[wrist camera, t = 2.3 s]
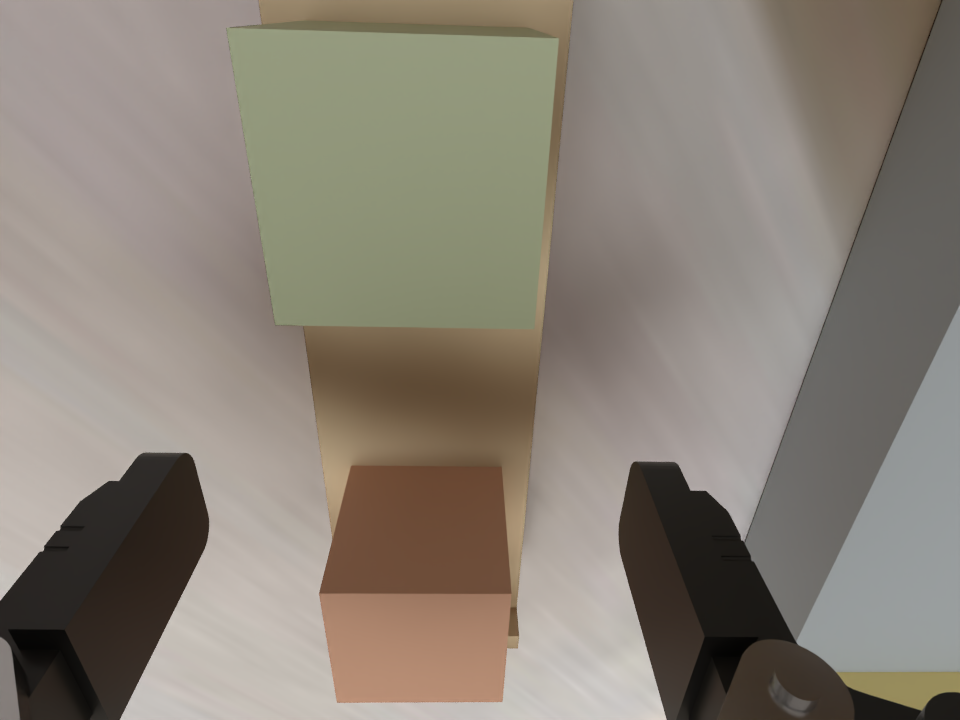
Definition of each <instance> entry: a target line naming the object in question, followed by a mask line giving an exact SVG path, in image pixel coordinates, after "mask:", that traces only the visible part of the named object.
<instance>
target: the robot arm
mask: <svg viewBox="0 0 960 720" xmlns="http://www.w3.org/2000/svg"><path fill="white" fill-rule="evenodd" d="M208 532H209V517H208V512H207V508H206V504H205V501H204V497H203V493H202V489H201V485H200V482H199V478H198V474H197V470H196V466H195V463H194V460H193V458H192V457H191V455H189V454H187V453H142V454H140V455H139V456H138V457H137V458H136V459H135V461H134V462H133V463H132V465H131V466H130V467H129V469H128V470H127V471H126V473H125V474H124V475H123V477H122V478H121V479H120V481H108V482H107V483H105V484H104V485H103V486H101V487H100V488H98V489H97V490H96V491H94V492H93V493H91V494H90V495H89V496H87V497H86V498H84V499H83V500H82V501H80V502H79V504H78V505H77V506H76V507H75V509H74V510H73V511H72V512H71V514H70V515H69V516H68V517H67V519H66V520H65V521H64V522H63V524H62V525H61V529H60V531H56V532H55V533H54V535H53V536H52V537H51V538H50V540H49V541H48V542H47V543H46V545H45V546H44V551H43V552H39V553H38V555H37V556H36V557H35V558H34V560H33V561H32V562H31V563H30V565H29V566H28V567H27V568H26V570H25V571H24V572H23V573H22V575H21V576H20V577H19V578H18V580H17V581H16V582H15V583H14V585H13V586H12V587H11V588H10V590H9V591H8V592H7V593H6V595H5V596H4V597H3V598H2V600H1V601H0V720H120V718H121V716H122V714H123V712H124V710H125V708H126V706H127V704H128V702H129V700H130V698H131V696H132V694H133V692H134V690H135V688H136V686H137V684H138V682H139V680H140V678H141V676H142V674H143V672H144V670H145V668H146V666H147V664H148V662H149V660H150V658H151V656H152V654H153V652H154V650H155V648H156V646H157V644H158V641H159V639H160V637H161V635H162V633H163V631H164V629H165V627H166V625H167V623H168V621H169V619H170V617H171V615H172V613H173V611H174V609H175V607H176V605H177V603H178V601H179V599H180V597H181V595H182V593H183V591H184V589H185V587H186V585H187V583H188V581H189V579H190V577H191V575H192V573H193V571H194V569H195V567H196V565H197V563H198V561H199V559H200V557H201V555H202V553H203V551H204V549H205V546H206V542H207V538H208ZM619 547H620V554H621V558H622V562H623V565H624V569H625V572H626V576H627V579H628V583H629V586H630V590H631V594H632V597H633V601H634V604H635V608H636V611H637V615H638V619H639V622H640V626H641V629H642V633H643V636H644V640H645V644H646V647H647V651H648V654H649V658H650V661H651V665H652V669H653V672H654V676H655V679H656V683H657V686H658V690H659V693H660V697H661V701H662V704H663V708H664V711H665V715H666V718H667V720H960V693H958V692H945V693H941V694H938V695H936V696H934V697H932V698H931V699H930V700H929V701H928V703H927V704H926V705H925V707H924V708H923V710H922V711H921V710H918V709H915V708H912V707H908V706H905V705H902V704H898V703H895V702H892V701H889V700H885V699H882V698H879V697H875V696H872V695H869V694H866V693H863V692H860V691H857V690H854V689H852V688H850V687H848V686H846V685H845V683H844V682H843V680H842V679H841V678H840V676H839V675H838V674H837V673H836V672H835V671H834V669H833V668H832V667H831V666H830V665H828V664H827V663H826V662H825V661H824V660H823V659H821V658H820V657H819V656H817V655H816V654H814V653H813V652H811V651H809V650H808V649H806V648H804V647H801V646H799V645H798V644H797V642H796V641H795V639H794V637H793V635H792V633H791V631H790V630H789V628H788V626H787V624H786V622H785V620H784V618H783V616H782V614H781V612H780V610H779V608H778V607H777V605H776V603H775V601H774V599H773V597H772V595H771V593H770V591H769V589H768V587H767V585H766V584H765V582H764V580H763V578H762V576H761V574H760V572H759V570H758V568H757V566H756V564H755V562H754V561H751V555H750V553H749V551H748V549H747V547H746V545H745V543H744V541H741V536H740V534H739V532H738V530H737V528H736V526H735V524H734V522H733V520H732V518H731V516H730V514H729V513H728V511H727V510H726V509H725V508H723V507H722V506H721V505H720V504H719V503H718V502H717V501H716V500H715V499H714V498H713V497H712V496H711V495H710V494H709V493H708V492H706V491H690V489H689V487H688V484H687V482H686V480H685V478H684V476H683V474H682V472H681V469H680V467H679V466H678V465H677V464H676V463H675V462H633V464H632V465H631V468H630V472H629V477H628V482H627V487H626V492H625V497H624V502H623V507H622V512H621V516H620V522H619Z"/></svg>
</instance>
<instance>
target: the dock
mask: <svg viewBox="0 0 960 720" xmlns="http://www.w3.org/2000/svg"><path fill="white" fill-rule="evenodd" d="M745 545H746V547H747V549H748V551H749V553H750V555H751V561H754V562H755V564H756V566H757V568H758V570H759V572H760V574H761V576H762V578H763V580H764V582H765V584H766V585H767V587H768V589H769V591H770V593H771V595H772V597H773V599H774V601H775V603H776V605H777V607H778V608H779V610H780V612H781V614H782V616H783V618H784V620H785V622H786V624H787V626H788V628H789V630H790V631H791V633H792V635H793V637H794V639H795V641H796V642H797V644H798V645H799V646H801V647H804V648H806V649H808V650H809V651H811V652H813V653H814V654H816V655H817V656H819V657H820V658H821V659H823V660H824V661H825V662H826V663H827V664H828V665H830V666H831V667H832V668H833V669H834V671H835V672H836V673H837V674H838V675H839V676H840V678H841V679H842V680H843V682H844V683H845V685H846V686H848V687H850V688H852V689H854V690H857V691H860V692H863V693H866V694H869V695H872V696H875V697H879V698H882V699H885V700H889V701H892V702H895V703H898V704H902V705H905V706H908V707H912V708H915V709H918V710H921V711H922V710H923V708H924V707H925V705H926V704H927V703H928V701H929V700H930V699H931V698H932V697H934V696H936V695H938V694H941V693H945V692H958V693H960V0H943V1H942V4H941V6H940V9H939V12H938V14H937V17H936V20H935V23H934V25H933V28H932V31H931V34H930V36H929V39H928V42H927V45H926V47H925V50H924V53H923V56H922V58H921V61H920V64H919V67H918V69H917V72H916V75H915V78H914V80H913V83H912V86H911V89H910V91H909V94H908V97H907V100H906V102H905V105H904V108H903V111H902V113H901V116H900V119H899V121H898V124H897V127H896V130H895V132H894V135H893V138H892V141H891V143H890V146H889V149H888V152H887V154H886V157H885V160H884V163H883V165H882V168H881V171H880V174H879V176H878V179H877V182H876V185H875V187H874V190H873V193H872V196H871V198H870V201H869V204H868V207H867V209H866V212H865V215H864V218H863V220H862V223H861V226H860V228H859V231H858V234H857V237H856V239H855V242H854V245H853V248H852V250H851V253H850V256H849V259H848V261H847V264H846V267H845V270H844V272H843V275H842V278H841V281H840V283H839V286H838V289H837V292H836V294H835V297H834V300H833V303H832V305H831V308H830V311H829V314H828V316H827V319H826V322H825V325H824V327H823V330H822V333H821V335H820V338H819V341H818V344H817V346H816V349H815V352H814V355H813V357H812V360H811V363H810V366H809V368H808V371H807V374H806V377H805V379H804V382H803V385H802V388H801V390H800V393H799V396H798V399H797V401H796V404H795V407H794V410H793V412H792V415H791V418H790V421H789V423H788V426H787V429H786V432H785V434H784V437H783V440H782V442H781V445H780V448H779V451H778V453H777V456H776V459H775V462H774V464H773V467H772V470H771V473H770V475H769V478H768V481H767V484H766V486H765V489H764V492H763V495H762V497H761V500H760V503H759V506H758V508H757V511H756V514H755V517H754V519H753V522H752V525H751V528H750V530H749V533H748V536H747V539H746V541H745Z"/></svg>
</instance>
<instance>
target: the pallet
mask: <svg viewBox="0 0 960 720" xmlns="http://www.w3.org/2000/svg"><path fill="white" fill-rule="evenodd" d="M259 8H260V15H261V22H262V24H272V23H283V22H293V21H304V20H305V21H336V22H368V23H399V24H430V25H461V26H492V27H524V28H531V29H534V30H537V31H540V32H543V33H545V34H548V35H551V36H554V37H557V38H559V44H558V55H557V67H556V79H555V91H554V103H553V115H552V126H551V138H550V150H549V162H548V174H547V186H546V197H545V209H544V221H543V233H542V245H541V256H540V268H539V280H538V292H537V304H536V316H535V327H534V329H482V328H419V327H355V326H303V328H304V335H305V343H306V350H307V357H308V364H309V372H310V379H311V386H312V394H313V401H314V408H315V415H316V423H317V430H318V437H319V445H320V452H321V459H322V466H323V474H324V481H325V488H326V495H327V503H328V510H329V517H330V525H331V532H332V539H333V536H334V532H335V528H336V524H337V520H338V516H339V512H340V508H341V504H342V500H343V496H344V492H345V488H346V484H347V479H348V475H349V471H350V467H351V466H463V467H502V477H503V489H504V502H505V515H506V528H507V541H508V554H509V567H510V579H511V592H512V595H511V607H510V619H509V630H508V642H507V648H518V641H519V631H518V619H517V597H518V587H519V576H520V565H521V554H522V544H523V533H524V522H525V512H526V501H527V490H528V480H529V469H530V458H531V447H532V437H533V426H534V415H535V405H536V394H537V383H538V373H539V362H540V351H541V340H542V330H543V319H544V308H545V298H546V287H547V276H548V266H549V255H550V244H551V233H552V223H553V212H554V201H555V191H556V180H557V169H558V159H559V148H560V137H561V126H562V116H563V105H564V94H565V84H566V73H567V62H568V52H569V41H570V30H571V19H572V9H573V0H259Z"/></svg>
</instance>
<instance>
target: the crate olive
mask: <svg viewBox="0 0 960 720" xmlns="http://www.w3.org/2000/svg"><path fill="white" fill-rule="evenodd" d="M226 30H227V36H228V42H229V48H230V54H231V60H232V66H233V72H234V78H235V84H236V91H237V97H238V103H239V109H240V115H241V121H242V127H243V133H244V139H245V145H246V151H247V157H248V163H249V169H250V176H251V182H252V188H253V194H254V200H255V206H256V212H257V218H258V224H259V230H260V236H261V242H262V248H263V254H264V260H265V267H266V273H267V279H268V285H269V291H270V297H271V303H272V309H273V315H274V321H275V325H292V326H355V327H419V328H482V329H534V327H535V316H536V304H537V292H538V280H539V268H540V256H541V245H542V233H543V221H544V209H545V197H546V186H547V174H548V162H549V150H550V138H551V126H552V115H553V103H554V91H555V79H556V67H557V55H558V44H559V38H557V37H554V36H551V35H548V34H545V33H543V32H540V31H537V30H534V29H531V28H524V27H492V26H461V25H430V24H399V23H368V22H336V21H305V20H304V21H293V22H283V23H272V24H262V25H251V26H241V27H230V28H226Z"/></svg>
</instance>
